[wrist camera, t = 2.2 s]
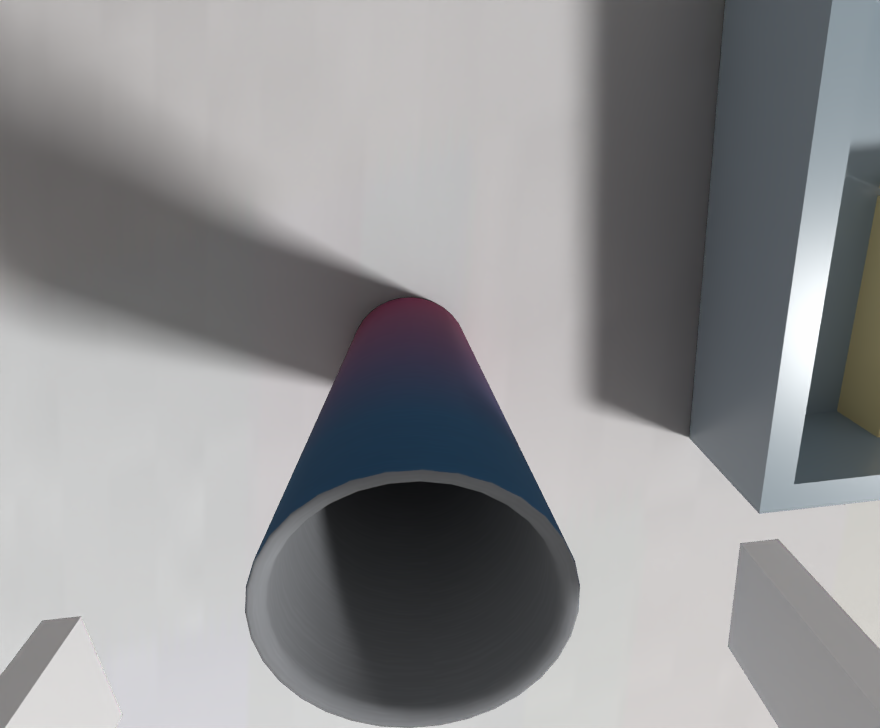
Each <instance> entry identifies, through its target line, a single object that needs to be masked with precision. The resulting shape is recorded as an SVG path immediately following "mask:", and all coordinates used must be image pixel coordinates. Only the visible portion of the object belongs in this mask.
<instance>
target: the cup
mask: <svg viewBox="0 0 880 728" xmlns="http://www.w3.org/2000/svg"><path fill="white" fill-rule="evenodd" d="M579 592H580V584H579V579H578V574H577V569H576V564H575V560H574V558H573V556H572V554H571V552H570V550H569V548H568V546H567V544H566V541H565V539H564V537H563V535H562V533H561V531H560V529H559V527H558V525H557V523H556V521H555V519H554V517H553V515H552V513H551V511H550V509H549V507H548V505H547V503H546V501H545V499H544V497H543V494H542V492H541V490H540V488H539V486H538V484H537V482H536V480H535V478H534V476H533V474H532V472H531V470H530V468H529V466H528V464H527V462H526V460H525V458H524V456H523V454H522V452H521V450H520V448H519V446H518V443H517V441H516V439H515V437H514V435H513V433H512V431H511V429H510V427H509V425H508V423H507V421H506V419H505V417H504V415H503V413H502V411H501V409H500V407H499V405H498V403H497V401H496V399H495V397H494V395H493V392H492V390H491V388H490V386H489V384H488V382H487V380H486V378H485V376H484V374H483V372H482V370H481V368H480V366H479V364H478V362H477V360H476V358H475V356H474V354H473V352H472V350H471V348H470V346H469V344H468V341H467V339H466V337H465V335H464V333H463V331H462V329H461V327H460V325H459V323H458V322H457V321H456V319H455V318H454V317H453V316H452V315H451V314H450V313H449V312H448V311H447V310H446V309H445V308H443V307H441V306H440V305H438V304H436V303H434V302H431V301H428V300H425V299H421V298H413V297H409V298H398V299H395V300H391V301H388V302H386V303H384V304H382V305H380V306H378V307H377V308H375V309H374V310H373V311H371V312H370V313H369V314H368V315H367V316H366V318H365V319H364V320H363V321H362V323H361V325H360V326H359V328H358V330H357V332H356V334H355V336H354V339H353V341H352V343H351V345H350V348H349V350H348V352H347V354H346V356H345V359H344V361H343V363H342V365H341V368H340V370H339V372H338V374H337V377H336V379H335V381H334V383H333V385H332V388H331V390H330V392H329V394H328V397H327V399H326V401H325V403H324V405H323V408H322V410H321V412H320V414H319V417H318V419H317V421H316V423H315V425H314V428H313V430H312V432H311V434H310V437H309V439H308V441H307V443H306V445H305V448H304V450H303V452H302V454H301V457H300V459H299V461H298V463H297V465H296V468H295V470H294V472H293V474H292V477H291V479H290V481H289V483H288V485H287V488H286V490H285V492H284V494H283V497H282V499H281V501H280V503H279V505H278V508H277V510H276V512H275V514H274V517H273V519H272V521H271V523H270V525H269V528H268V530H267V532H266V534H265V537H264V539H263V541H262V543H261V545H260V548H259V550H258V552H257V554H256V557H255V559H254V561H253V565H252V568H251V571H250V575H249V578H248V581H247V585H246V604H245V613H246V618H247V622H248V627H249V631H250V635H251V639H252V641H253V643H254V645H255V647H256V649H257V650H258V652H259V654H260V656H261V658H262V660H263V662H264V663H265V664H266V665H267V667H268V668H269V669H270V670H271V671H272V673H273V674H274V675H275V676H276V677H277V679H278V680H279V681H280V682H281V683H283V684H284V685H285V686H286V687H288V688H289V689H290V690H291V691H293V692H294V693H295V694H296V695H298V696H299V697H300V698H301V699H303V700H305V701H307V702H309V703H311V704H313V705H314V706H316V707H318V708H320V709H322V710H324V711H325V712H328V713H331V714H334V715H337V716H340V717H343V718H345V719H348V720H351V721H355V722H361V723H366V724H371V725H376V726H384V727H404V728H414V727H426V726H437V725H443V724H447V723H452V722H456V721H461V720H465V719H469V718H472V717H474V716H477V715H479V714H482V713H485V712H487V711H490V710H493V709H495V708H497V707H499V706H501V705H502V704H504V703H506V702H508V701H509V700H511V699H513V698H515V697H517V696H518V695H520V694H521V693H522V692H524V691H525V690H526V689H527V688H529V687H530V686H531V685H533V684H534V683H535V682H536V681H538V680H539V679H540V678H541V677H542V676H543V675H544V674H545V672H546V671H547V670H548V669H549V668H550V667H551V666H552V665H553V663H554V662H555V661H556V660H557V659H558V657H559V656H560V654H561V652H562V650H563V649H564V647H565V645H566V643H567V642H568V640H569V638H570V637H571V634H572V631H573V627H574V624H575V621H576V618H577V614H578V609H579Z"/></svg>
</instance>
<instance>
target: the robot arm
mask: <svg viewBox="0 0 880 728" xmlns="http://www.w3.org/2000/svg"><path fill="white" fill-rule="evenodd" d="M728 647H729V649H730V650H731V652H732V654H733V655H734V657H735V658H736V660H737V662H738V663H739V665H740V666H741V668H742V670H743V671H744V673H745V674H746V676H747V677H748V679H749V681H750V682H751V684H752V685H753V687H754V689H755V690H756V692H757V693H758V695H759V697H760V698H761V700H762V701H763V703H764V705H765V706H766V708H767V709H768V711H769V712H770V714H771V716H772V717H773V719H774V720H775V722H776V724H777V725H778V727H779V728H880V649H879V648H878V647H877V646H876V645H875V644H874V642H873V641H872V640H871V639H870V638H869V637H868V636H867V635H866V634H865V633H864V632H863V631H862V629H861V628H860V627H859V626H858V625H857V624H856V623H855V622H854V621H853V620H852V619H851V618H850V616H849V615H848V614H847V613H846V612H845V611H844V610H843V609H842V608H841V607H840V606H839V604H838V603H837V602H836V601H835V600H834V599H833V598H832V597H831V596H830V595H829V594H828V593H827V591H826V590H825V589H824V588H823V587H822V586H821V585H820V584H819V583H818V582H817V581H816V580H815V578H814V577H813V576H812V575H811V574H810V573H809V572H808V571H807V570H806V569H805V568H804V567H803V565H802V564H801V563H800V562H799V561H798V560H797V559H796V558H795V557H794V556H793V555H792V554H791V552H790V551H789V550H788V549H787V548H786V547H785V546H784V545H783V544H782V543H781V542H780V541H779V539H775V540H766V541H757V542H748V543H740V550H739V559H738V567H737V575H736V583H735V592H734V600H733V608H732V616H731V625H730V633H729V641H728ZM122 715H123V714H122V712H121V710H120V707H119V705H118V702H117V700H116V698H115V695H114V693H113V691H112V688H111V686H110V683H109V681H108V679H107V676H106V674H105V672H104V669H103V667H102V664H101V662H100V660H99V657H98V655H97V653H96V650H95V648H94V645H93V643H92V641H91V638H90V636H89V634H88V631H87V629H86V626H85V624H84V622H83V619H82V617H81V616H80V617H71V618H62V619H53V620H44V621H42V622H41V623H40V624H39V625H38V627H37V628H36V629H35V631H34V632H33V633H32V635H31V636H30V637H29V639H28V640H27V641H26V643H25V644H24V645H23V647H22V648H21V649H20V651H19V652H18V653H17V654H16V656H15V657H14V658H13V660H12V661H11V662H10V664H9V665H8V666H7V668H6V669H5V670H4V672H3V673H2V674H1V676H0V728H116V727H117V725H118V723H119V721H120V719H121V717H122Z"/></svg>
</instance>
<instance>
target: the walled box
mask: <svg viewBox="0 0 880 728" xmlns="http://www.w3.org/2000/svg"><path fill="white" fill-rule="evenodd" d="M689 438H690V439H691V440H692V441H693V442H694V443H695V445H696V446H697V447H698V448H699V449H700V450H701V451H702V452H703V453H704V454H705V455H706V456H707V458H708V459H709V460H710V461H711V462H712V463H713V464H714V465H715V466H716V467H717V468H718V469H719V471H720V472H721V473H722V474H723V475H724V476H725V477H726V478H727V479H728V480H729V481H730V482H731V484H732V485H733V486H734V487H735V488H736V489H737V490H738V491H739V492H740V493H741V494H742V495H743V497H744V498H745V499H746V500H747V501H748V502H749V503H750V504H751V505H752V506H753V507H754V508H755V510H756V511H757V512H758V513H759V514H760V513H769V512H778V511H787V510H796V509H805V508H814V507H823V506H832V505H841V504H850V503H859V502H867V501H876V500H880V0H725V8H724V21H723V33H722V45H721V57H720V69H719V82H718V94H717V106H716V118H715V131H714V143H713V155H712V167H711V179H710V192H709V204H708V216H707V228H706V241H705V253H704V265H703V277H702V289H701V302H700V314H699V326H698V338H697V351H696V363H695V375H694V387H693V399H692V412H691V424H690V436H689Z"/></svg>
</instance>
